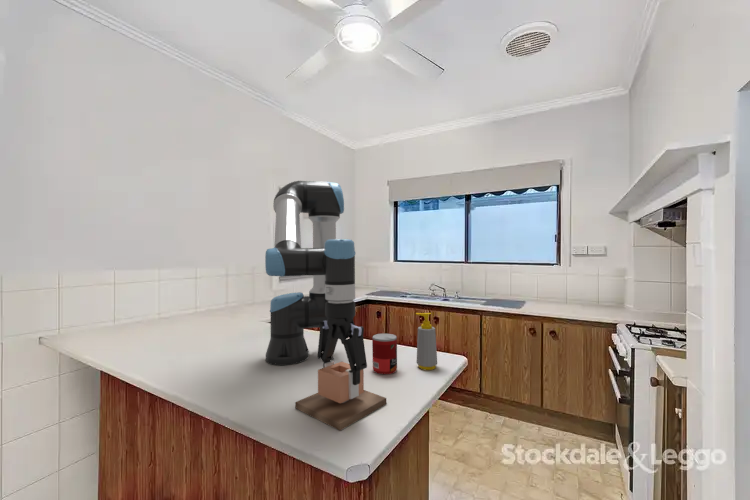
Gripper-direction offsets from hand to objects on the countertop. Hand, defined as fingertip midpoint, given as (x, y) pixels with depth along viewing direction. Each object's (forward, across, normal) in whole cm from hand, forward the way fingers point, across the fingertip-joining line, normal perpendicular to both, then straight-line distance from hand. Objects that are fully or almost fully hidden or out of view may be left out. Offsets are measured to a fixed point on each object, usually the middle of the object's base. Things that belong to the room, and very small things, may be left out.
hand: (341, 392), depth 81 cm
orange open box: (0, 0, 0) cm, 0 cm away
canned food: (+4, -7, +26) cm, 27 cm away
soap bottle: (+4, +2, +37) cm, 37 cm away
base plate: (+4, 0, 0) cm, 4 cm away
